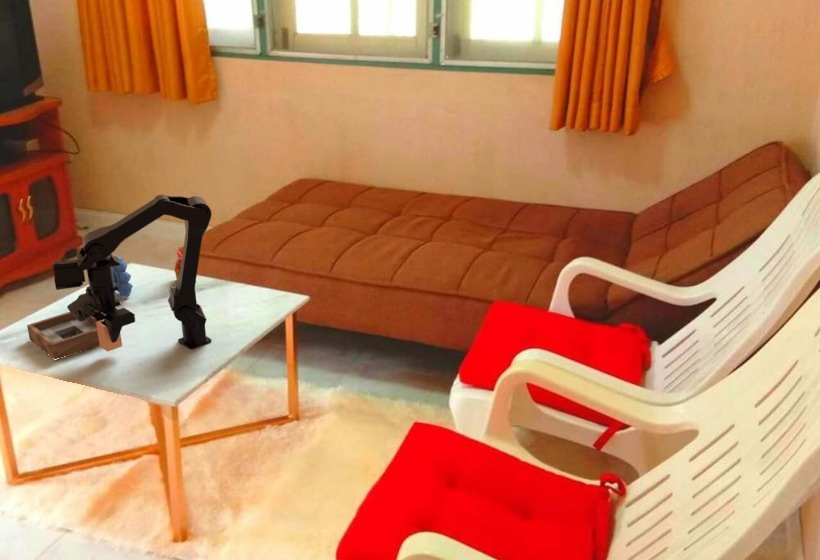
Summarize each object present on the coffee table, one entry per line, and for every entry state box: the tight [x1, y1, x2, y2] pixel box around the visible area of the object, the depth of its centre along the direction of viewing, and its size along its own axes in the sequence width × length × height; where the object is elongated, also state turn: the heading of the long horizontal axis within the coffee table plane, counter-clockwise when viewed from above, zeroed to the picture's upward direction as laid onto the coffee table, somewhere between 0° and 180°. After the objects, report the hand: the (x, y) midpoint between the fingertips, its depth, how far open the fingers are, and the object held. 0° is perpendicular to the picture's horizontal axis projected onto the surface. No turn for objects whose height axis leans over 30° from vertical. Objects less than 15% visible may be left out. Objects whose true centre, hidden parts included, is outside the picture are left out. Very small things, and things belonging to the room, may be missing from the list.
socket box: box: [26, 311, 100, 360], centre depth 203 cm, size 15×15×4 cm
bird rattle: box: [174, 250, 183, 284], centre depth 237 cm, size 6×11×9 cm
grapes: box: [112, 255, 134, 298], centre depth 227 cm, size 12×7×12 cm, turn 39°
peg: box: [96, 319, 123, 352], centre depth 194 cm, size 4×4×7 cm
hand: (110, 339), depth 195 cm, fingers closed on peg, 4 cm apart
